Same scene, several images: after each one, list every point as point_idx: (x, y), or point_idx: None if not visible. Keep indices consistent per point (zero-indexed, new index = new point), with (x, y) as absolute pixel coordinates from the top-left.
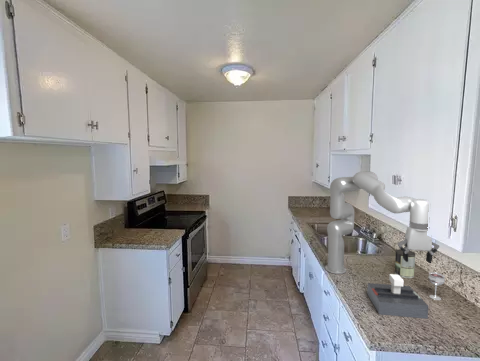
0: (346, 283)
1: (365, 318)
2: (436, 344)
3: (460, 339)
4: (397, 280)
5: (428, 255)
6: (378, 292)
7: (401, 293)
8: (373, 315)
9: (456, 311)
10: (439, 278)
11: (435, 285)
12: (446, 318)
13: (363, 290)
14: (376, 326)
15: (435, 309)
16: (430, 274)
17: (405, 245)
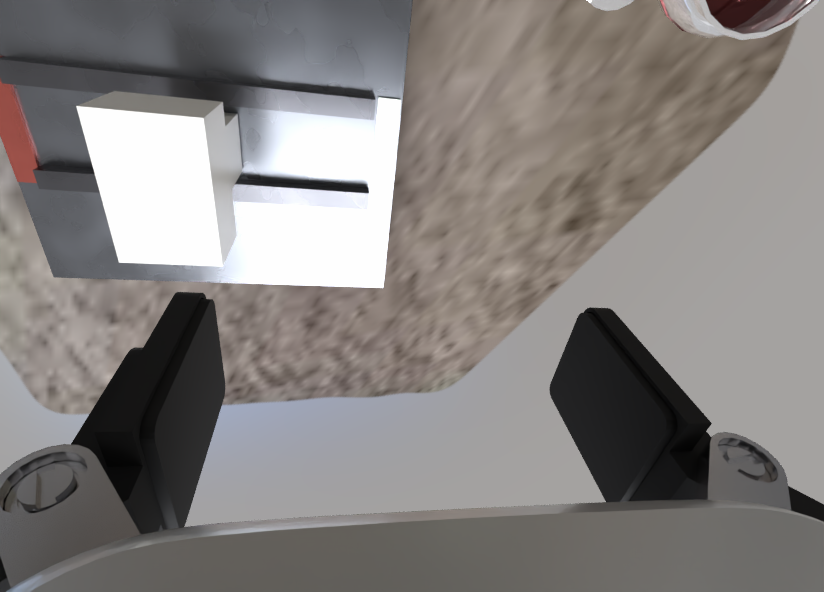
0: None
1: (9, 281)
2: (312, 398)
3: (426, 363)
4: (157, 260)
5: (617, 463)
6: (35, 176)
7: (265, 135)
8: None
9: (597, 159)
10: (726, 32)
11: None
12: (482, 233)
13: None
14: (74, 335)
15: (488, 146)
16: None
17: (42, 583)
